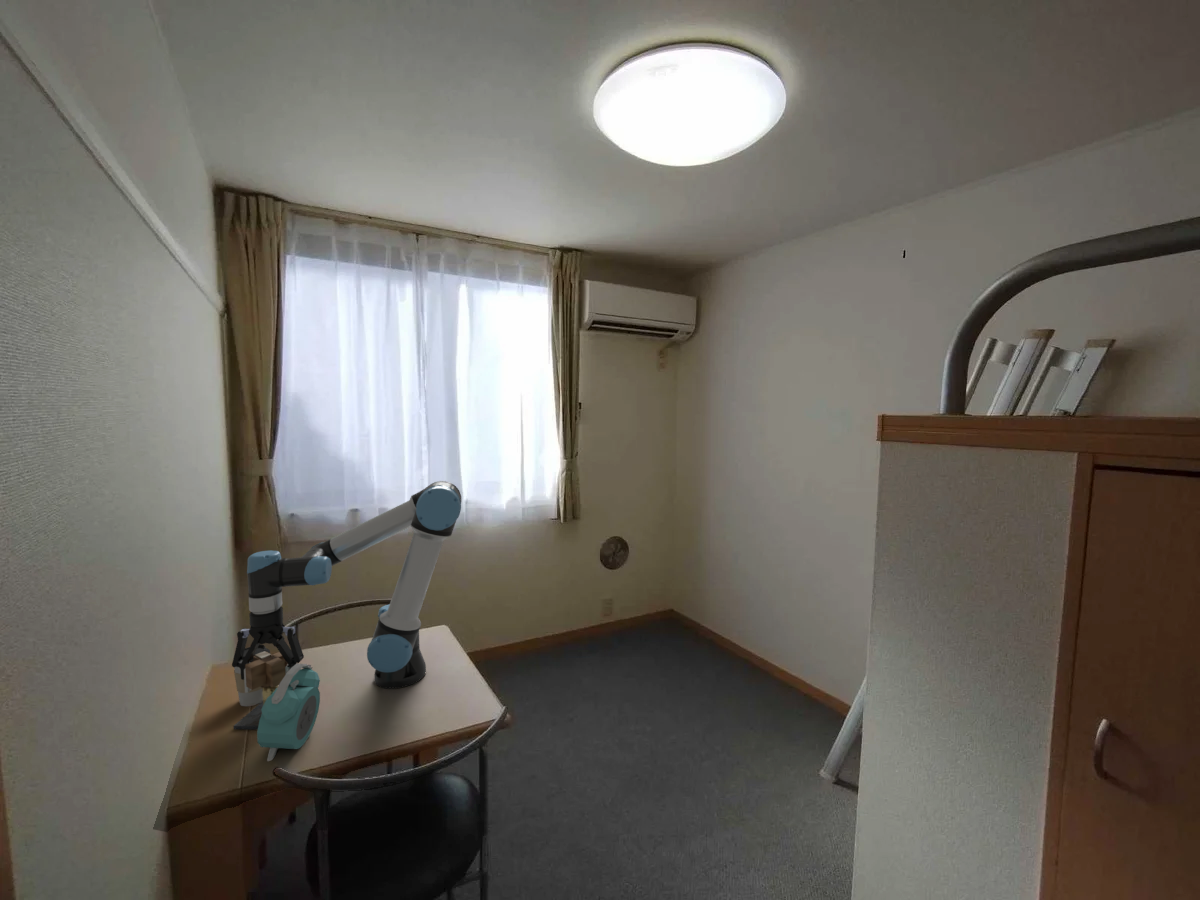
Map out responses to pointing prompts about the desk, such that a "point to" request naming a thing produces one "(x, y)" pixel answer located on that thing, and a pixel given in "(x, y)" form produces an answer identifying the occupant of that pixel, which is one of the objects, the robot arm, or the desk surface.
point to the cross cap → (265, 670)
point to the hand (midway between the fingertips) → (269, 688)
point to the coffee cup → (253, 695)
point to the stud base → (254, 712)
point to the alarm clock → (290, 711)
